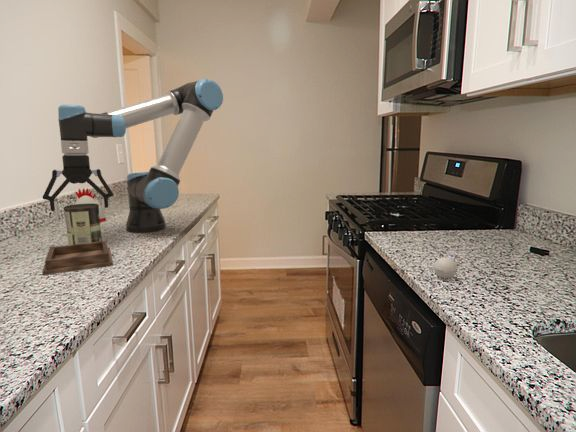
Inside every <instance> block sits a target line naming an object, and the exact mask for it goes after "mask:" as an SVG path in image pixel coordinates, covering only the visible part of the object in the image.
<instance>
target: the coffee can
mask: <svg viewBox="0 0 576 432" xmlns="http://www.w3.org/2000/svg"><path fill="white" fill-rule="evenodd" d="M74 204H75V203H74ZM74 204H70V205H65V206H64V207H63V212H64V218H65V226H66V235H67V243H68V244H67V245H74V244H83V243H92V242H101V241H103V239H102V230H101V228H102V227H101V223H100V217H99V205H98V204H75V205H74Z"/></svg>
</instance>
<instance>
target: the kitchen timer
mask: <svg viewBox="0 0 576 432" xmlns="http://www.w3.org/2000/svg"><path fill="white" fill-rule="evenodd" d="M74 193H75V195H76V197H77V200H76V201H75V202H74V204H73V205H75V204H98V205H99V217H100V224H101V223H103V222H106V220H107V218H103V213H102V203H100V201H99V200H97V199H96V198H95V197H96V193H93V192H92V190H90V191H89V188H86V189H85V188H82V191H81V189H80V188H78V192H77V191H75V192H74ZM92 193H93V194H92ZM105 217H107V216H106V215H105Z"/></svg>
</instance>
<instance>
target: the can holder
mask: <svg viewBox="0 0 576 432" xmlns="http://www.w3.org/2000/svg"><path fill="white" fill-rule="evenodd" d="M44 260H45V261H44V266H43V267H42V276H45V275H46V276H47V275H53V274H60V273H67V272H73V271H74V272H75V271H80V270H81V271H82V270H88V269H94V268H95V269H97V268H103V267H109V266H110V267H111V266H114V262H113V257H112V251H111V248H110V246H109V247H108V242H107V240H102V241H101V242H92V243H83V244H74V245H69V244H67V245H57V246H50V247H49V249H48V251H47V254H46V258H45V259H44Z"/></svg>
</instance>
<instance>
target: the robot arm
mask: <svg viewBox="0 0 576 432" xmlns="http://www.w3.org/2000/svg"><path fill="white" fill-rule="evenodd" d="M223 101H224V94H223V92H222V88H221V86H220V84H219V83H218V82H216V81H215V80H213V79H210V78H201V79H198V80H195V81H191V82H188V83H185V84H183V85H181V86H179V87H177V88H174V89H172V90H168V91H166V92H165V94H163V95H162V96H157V97H154V98H150V99H146V100H143V101H140V102H136V103H133V104H130V105H127V106H126V105H125V106H121V107H119V108H115V109H112V110H109V111H105V112H102V113H92V112H87V111H86V109H85V107H84V106H83V105H77V104H60V105H59V106H58V110H57V111H58V120H57V121H58V126H59V135H60V146H61V153H62V154H63V155H62V166H63V167H62V168H63V169H62V170H57V169H53V170H52V171H51V172H52V173H51V179H50V181H49V182H48V185H47V187H46V188H45V192H44V194H43V195H42V200H46V201H49V206H50V211H51V212H54V215H55V222H59V221H60V215H59V214H60V213H59V203H58V199H56V198H57V197H58V196H59V195H60V193H61V192H62V191H63V190H64V189H65V188H66V187H67V185H68V184H75V185H76V184H85V183H87V184H89V185H90V187H92V188H93V189H94V190H95V191H96V192H97V193H98V194H99V195H101V196H102V197H101V206H102V213H103V218H106V217H107V216H106V208H108V209H109V198H111V197H114V192H113V191H112V190H111V188H110V186H109V185H108V183H107V181H106V180H105V178H104V177H103V175H102V172H101V169H99V168H97V169H93V170H92V169H91V164H90V156H89V155H88V154H89V153H90V152H89V143H88V142H89V141H88V137H90V138H93V139H96V138H122V137H124V136H125V135H126V132H127V129H128V128H131V127H134V126H135V127H136V126H138V125H140V124H144V123H147V122H151V121H154V120H157V119H160V118H163V117H167V116H169V115H174V116H178V115H180V117H179V119H178V121H177V123H176V126H175V127H174V129H173V131H172V134H171V135H170V137H169V140H168V142H167V143H166V146H165V148H164V150H163V152H162V154H161V156H160V159H159V160H158V162H157V164H156V165H153V166H150V169H149V171H143V172H142V171H139V172H132V173H128V174H127V176H126V184H127V194H128V195H127V196H128V205H129V206H128V207H129V212H128V216H127V221H126V225H125V226H126V232H127V231H128V232H131V233H151V232H157V231H161V230H164V229H165V228H166V227H167V225H166V219H165V218H164V216H163V215H164V214H163V213H162V209H168V208H170V207H172V206H173V205H175V203H176V201H177V200H178V198H179V194H180V192H179V191H180V190H179V185H180V183H181V179H180V177H179V175H180V172H181V170H182V168H183V166H184V164H185V163H186V160H187V158H188V156H189V153H190V152H191V150H192V147H193V146H194V143H195V142H196V139H197V137H198V135H199V133H200V130H201V128H202V126H203V124H204V122H207V121H209V120H210V118H211V116H212V115H213V113H214V111H216V110H218V109H220V107H221V106H222V104H223ZM92 174H93V175H94V176H95V177H97V178H98V179H99V182H101V184H102V185H103V187H104V189H105V190H106V192H107V193H106V192H104V191H103V189H101V188H100V187H99V186H98V185H97V184H96V183H95V182H94V181H93V180H92V179H91V178H90V177H91V176H92ZM61 175H62V176H63V177H64V178H65V180H64V181H63V182H62V183H61V185H60V186H59V187H58V188H57V189H56V190H55V191H54V192H53V194H52V195H50V193H51V191H52V189H53V187H54V185H55V183H56V181H57V179H58V178H59V177H60V176H61ZM105 216H106V217H105ZM106 219H107V218H106Z"/></svg>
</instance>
